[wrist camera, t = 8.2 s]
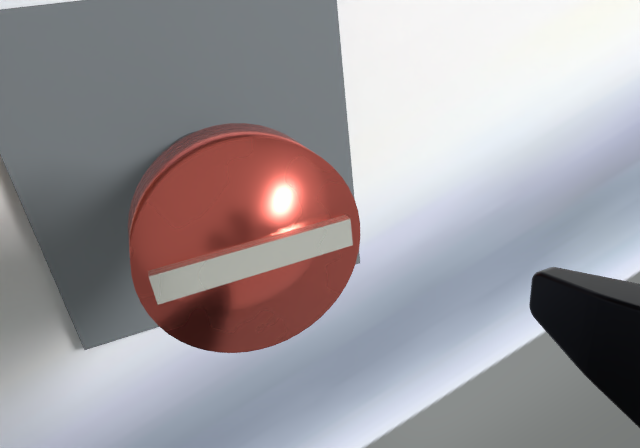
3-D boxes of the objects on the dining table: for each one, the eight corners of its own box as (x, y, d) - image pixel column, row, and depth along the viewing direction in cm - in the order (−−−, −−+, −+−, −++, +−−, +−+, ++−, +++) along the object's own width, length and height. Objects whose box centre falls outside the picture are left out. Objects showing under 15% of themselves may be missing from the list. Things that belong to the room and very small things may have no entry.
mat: (356, 259, 24) (360, 262, 24) (85, 344, 20) (84, 350, 20) (329, -27, 18) (334, -28, 18) (-55, 16, 14) (-60, 16, 14)
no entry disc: (263, 81, 18) (355, 118, 11) (285, 217, 21) (372, 317, 14) (102, 110, 17) (93, 175, 10) (148, 255, 19) (168, 390, 12)
